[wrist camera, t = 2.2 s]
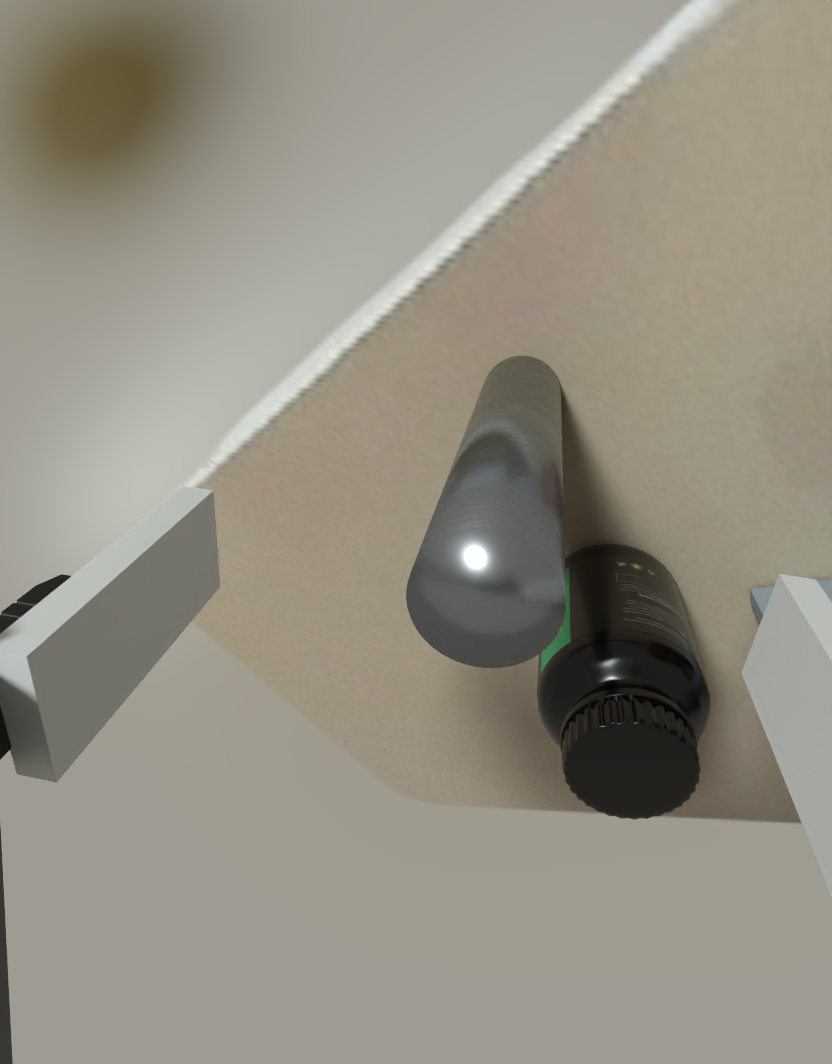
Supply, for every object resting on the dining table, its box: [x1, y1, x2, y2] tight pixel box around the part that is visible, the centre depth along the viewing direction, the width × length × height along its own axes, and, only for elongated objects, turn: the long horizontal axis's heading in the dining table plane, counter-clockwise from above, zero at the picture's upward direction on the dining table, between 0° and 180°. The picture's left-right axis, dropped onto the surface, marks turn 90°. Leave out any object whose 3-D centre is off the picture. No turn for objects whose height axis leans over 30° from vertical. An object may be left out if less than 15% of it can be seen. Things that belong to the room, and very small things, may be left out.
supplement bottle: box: [537, 544, 710, 819], centre depth 30 cm, size 7×7×12 cm
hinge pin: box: [406, 356, 566, 668], centre depth 23 cm, size 4×4×18 cm
